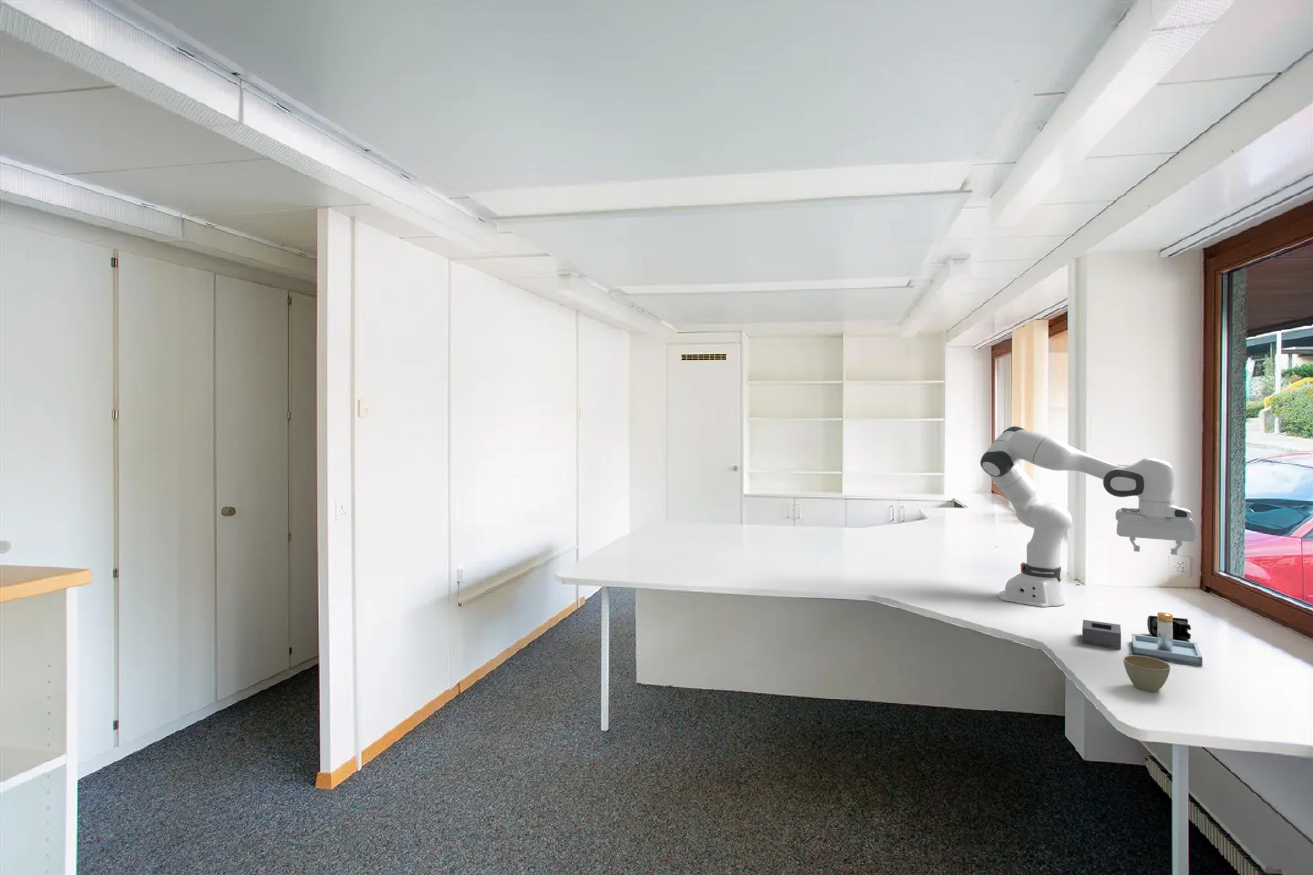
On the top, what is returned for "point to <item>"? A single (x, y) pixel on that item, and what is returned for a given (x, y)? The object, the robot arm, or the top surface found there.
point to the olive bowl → (1146, 672)
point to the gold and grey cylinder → (1165, 632)
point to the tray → (1180, 653)
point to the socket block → (1101, 634)
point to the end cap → (1178, 628)
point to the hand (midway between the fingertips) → (1155, 552)
